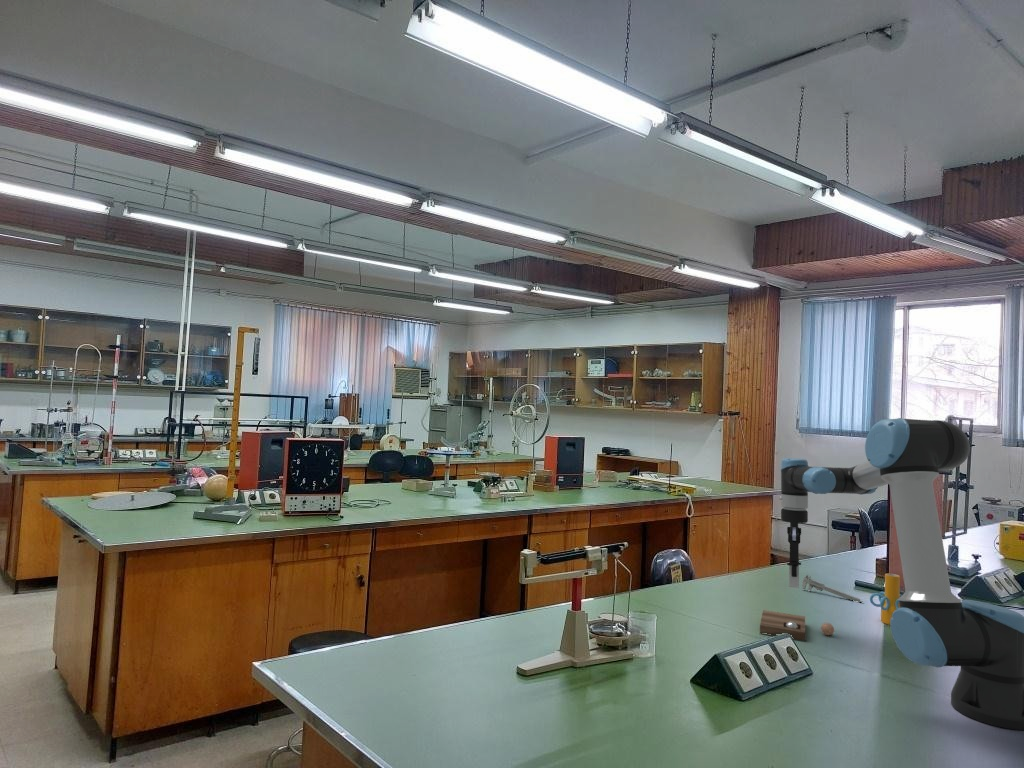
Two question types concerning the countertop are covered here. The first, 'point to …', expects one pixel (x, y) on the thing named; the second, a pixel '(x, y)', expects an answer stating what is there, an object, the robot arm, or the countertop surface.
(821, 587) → the caliper
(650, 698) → the countertop surface
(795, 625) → the steel ball
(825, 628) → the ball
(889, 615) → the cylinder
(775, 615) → the hole plate
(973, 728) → the countertop surface
